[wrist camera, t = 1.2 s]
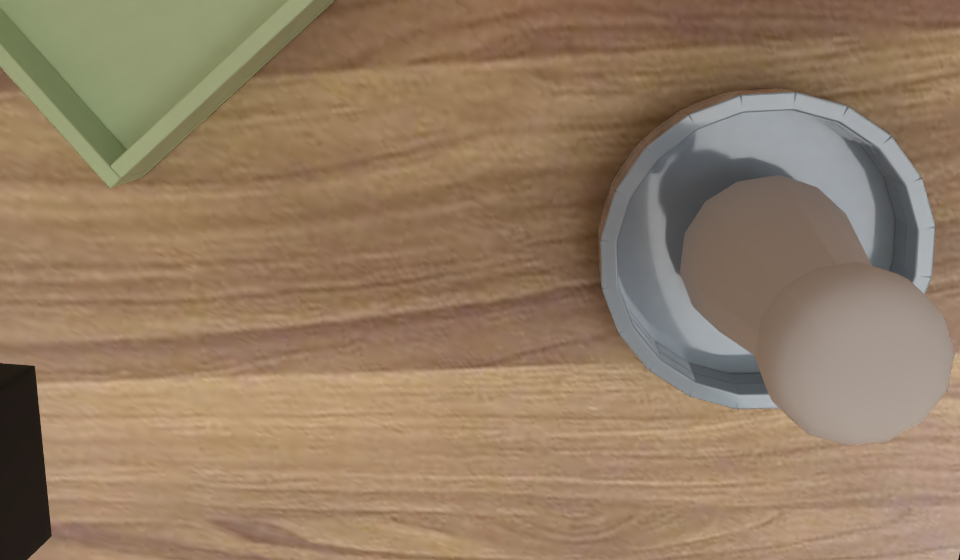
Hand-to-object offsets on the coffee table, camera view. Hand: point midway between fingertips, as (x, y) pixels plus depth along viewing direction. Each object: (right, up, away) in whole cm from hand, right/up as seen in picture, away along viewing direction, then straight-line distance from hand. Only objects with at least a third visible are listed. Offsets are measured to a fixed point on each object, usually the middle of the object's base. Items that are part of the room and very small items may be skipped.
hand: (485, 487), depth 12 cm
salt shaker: (+10, +4, +20) cm, 23 cm away
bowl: (+10, +4, +20) cm, 23 cm away
